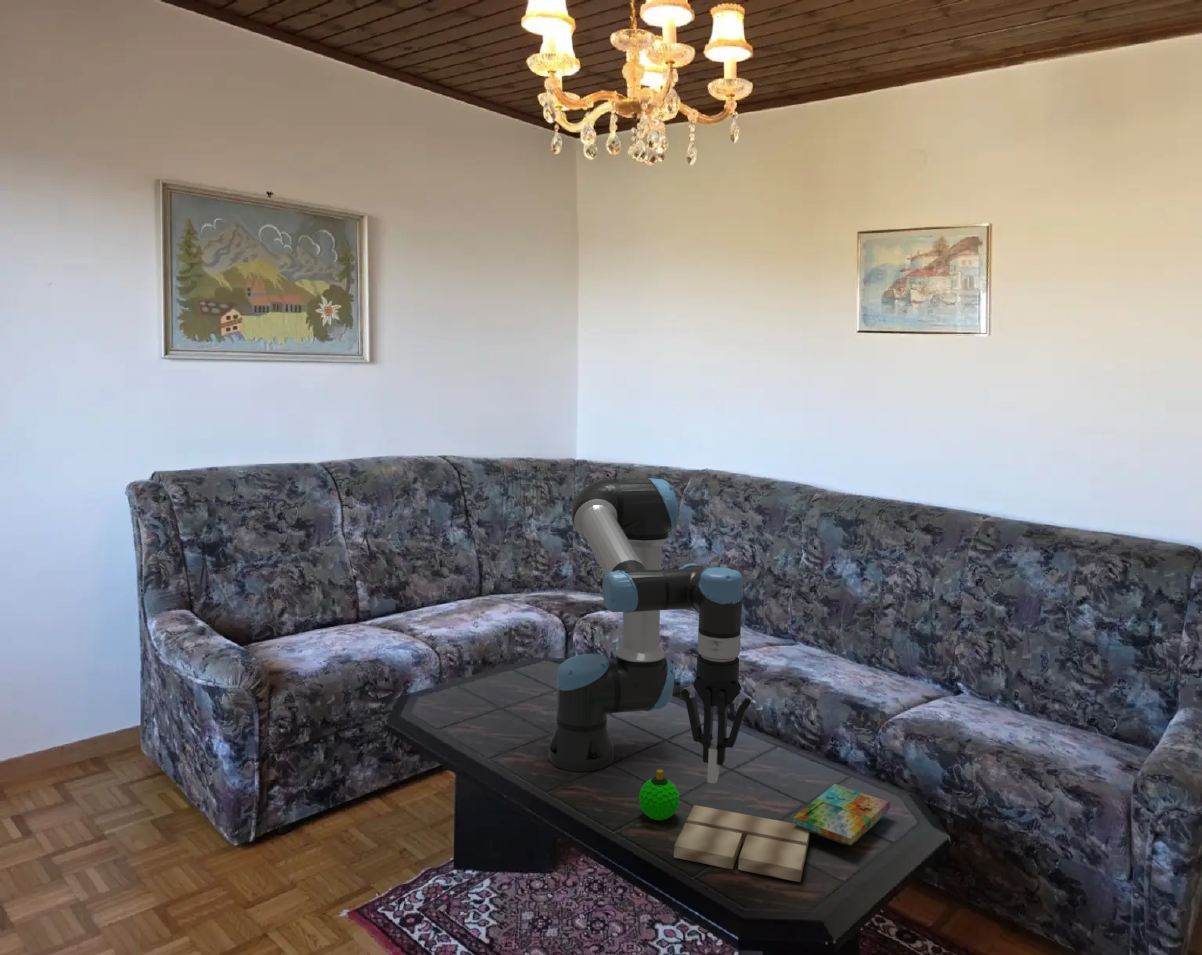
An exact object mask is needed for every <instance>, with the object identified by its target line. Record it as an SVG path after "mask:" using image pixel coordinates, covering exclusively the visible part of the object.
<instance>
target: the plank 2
mask: <svg viewBox="0 0 1202 955" xmlns="http://www.w3.org/2000/svg"><path fill="white" fill-rule="evenodd" d="M741 847H742V848H741V849H740V852H739V855H738V863H737V864H738V868H737V869H738V870H740V871H742V872H743V871H744V872H748V873H753V874H759V875H763V876H767V877H768V876H769V877H773V878H778V879H782V880H786V881H787V880H788V881H791V882H792V881H793V882H798V883H801V880H802V875H803V872H804V871H803V870H804V865H805V861H806V858H807V853H806V846H804V845H799V844H794V843H789V842H783V841H778V840H773V839H768V838H763V837H758V836H752V835H747V836H746V839H745V842H744V845H743V844H742V846H741Z"/></svg>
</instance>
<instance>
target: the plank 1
mask: <svg viewBox="0 0 1202 955" xmlns="http://www.w3.org/2000/svg"><path fill="white" fill-rule="evenodd" d="M742 845H743V844H742V833H737V832H732V831H726V830H721V829H716V828H711V827H706V826H700V825H695V824H690V823H686V822H685V823H684V826H683V827H682V830H681V831H680V833H679V835H678V838H677V839H676V841H675V843H674V845H673V858H675V859H681V860H685V861H689V862H695V863H700V864H703V865H704V864H705V865H710V866H714V867H719V868H723V869H729V870H733V869H734V866H735V864H736V861H737V858H738V857H739V854H740V851H741V849H742V848H741V847H742Z"/></svg>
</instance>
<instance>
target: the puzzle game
mask: <svg viewBox="0 0 1202 955" xmlns="http://www.w3.org/2000/svg"><path fill="white" fill-rule="evenodd" d="M890 809H891V801H887V800H885V799H881V798H878V797H876V796H872V795H869V794H866V793H863V792H860V791H858V790H855V789H851V788H848V787H846V786H843V785H839V784H837V783H834V784H833V785H832V786H830V787H829V788H828V789H826V790H825V791H824V792H823V793H821V794H820V795H819V796H818V797H816V799H814V800H813V801H812V802H810V803H809V804H808V805H807V806H805V807H804V808H803V809H801V810H800V811H799V812H798V813H797V814H795V815H794V816H793V817H792V818H791V819H792V820H791V821H792V822H791V823H793V824H796V825H799V826H801V827H804V828H807V829H809V830H810V833H812V834H815V835H818V836H820V837H823V838H826V839H829V840H830V841H834V842H836V843H838V844H842V845H844V846H847V847H850V848H851V847H853V845H854V844H856V843H857V841H859V840H860V839H861V838H862V837H863V836H864V835H865V834H866V833H868V831H869V830H870V829H871V828H873V827H874V825H876V824H877V823H878V822H879V821H880V820H882V818H883V817H884V816H885V815H886V814H887V813H888V811H890Z"/></svg>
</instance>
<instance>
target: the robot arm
mask: <svg viewBox="0 0 1202 955" xmlns="http://www.w3.org/2000/svg"><path fill="white" fill-rule="evenodd" d="M677 502H678V501H677V497H676V493H675V492H674V489H673V487H672V485H671V484H670V483H669V482H668V481H666V480H665V479H662V478H650V477H645V478H644V477H643V478H642V477H641V478H616V479H613V478H607V479H606V478H605V479H600V480H596V481H593V482H591V483H590V484H588V485H587V486H586V487H584V488H583V489H581V491H580V492H579V493H578V495H577V496H576V497H575V499H574V501H573V504H572V507H571V520H572V524H573V526H574V528H575V531H576V532H577V534H579V536H581V537H583V538H584V539H586V540H585V541H587V543H588V544H589V547H590V549H591V551H592V553H593V555H594V557H595V559H596V561H597V563H598V564H599V566H600V568H601V570H602V572H603V575H604V576H603V579H602V586H601V589H602V591H601V592H602V598H603V605H604V607H605V608H606V610H608V611H609V612H611V613H622V637H621V638H622V639H621V640H622V642H621V644H622V645H621V646H620V647H618V649H617V650H616V651H615V660H613V661H612V660H611V661H609V659H608V658H607V657H606V656H605V655H602V654H599V653H596V654H593V653H584V654H577V655H574V656H571V657H569V658H567V659H566V660H564V661H562V663H560V664H559V666H558V669H557V678H556V683H555V685H556V725H555V728H554V731H553V734H552V737H551V739H550V742H549V745H548V761H549V763H551V764H552V765H554V767H557V768H559V769H561V770H566V771H571V772H580V773H581V772H583V773H585V772H593V771H599V770H602V769H604V768H606V767H608V766H609V765H611V764H612V763H613V761H614V760H615V759H614V756H615V755H614V754H615V748H614V745H613V742H612V737H611V734H610V731H609V729H608V715H609V714H617V713H628V712H629V713H630V712H631V713H632V712H651V711H653V710H660V709H663V708H665V707H666V706H667V705H668V704H669V702H670V701H671V699H672V696H673V693H674V687H675V675H674V665H673V664H672V661H671V660H670V659H669V658H668V657H666V651H664V650H663V648H662V647H660V625H661V624H660V622H661V621H660V620H661V611H675V610H688V609H689V610H691V609H692V610H695V612H697V613H698V626H697V628H698V631H697V652H698V655H697V656H696V673H695V674H696V676H695V679H694V681H693V683H692V684H690V685H685V686H684V687H683V688H682V690H681V692H680V695H681V697H682V698H683V700H684V702H685V704H686V709H687V715H688V720H689V724H690V730H691V735H692V739H693V740H692V741H694V742H695V743H700V744H701V745H702V761H703V763H704V764H705V763H706V764H707V778H706V779H707V781H706V783H710V784H717V781H718V779H719V772H720V770H719V769H720V766H723V765H724V763H725V760H726V748H733V747H734V746H735V745H736V744H735V743H736V742H737V738H738V736H739V732H740V729H741V726H742V722H743V719H744V716H745V713H746V710H747V709H748V708H749V707H750V705H751V703H752V701H753V700H754V697H753V696H752V695H751V694H747V693H746V692H744V691H743V690H742V686H741V683H740V679H739V676H740V675H739V673H740V658H739V656H740V655H741V654H740V653H741V637H742V636H741V635H742V633H741V632H742V631H741V630H742V629H741V628H742V615H743V614H742V610H743V598H744V587H743V586H744V584H743V582H744V581H743V575H742V574H741V572H740V571H738V570H736V569H731V568H728V567H719V566H718V567H717V566H716V567H715V566H714V567H709V568H708V567H706V566H704V565H701V564H698V563H693V562H692V563H686V564H684V565H682V566H681V567H679V568H671V569H669V568H668V569H662V545H664V543H665V542H667V540H668V539H669V531H671V530H673V529H676V528H677V525H678V521H679V506H678V503H677ZM696 693H697V695H698V696H699V698H700V699H701V701H702V703H703V727H702V724H701V719H700V712H699V708H698V705H697V704H698V703H697V699H696ZM736 698H738V699H737V705H739V706H738V708H737V711H736V714H735V716H734V721H733V723H732V727H731V730H730V733H729V737H727V730H728V709H729V706H730V705H731V704H732V702H733V701H734V700H735V699H736ZM714 707H717V713H718V715H717V717H718V718H717V733H716V734H717V737H716V740H717V741H716V742H712V741H713V739H714V737H713V726H714V711H715V710H714ZM702 728H703V729H702Z"/></svg>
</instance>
